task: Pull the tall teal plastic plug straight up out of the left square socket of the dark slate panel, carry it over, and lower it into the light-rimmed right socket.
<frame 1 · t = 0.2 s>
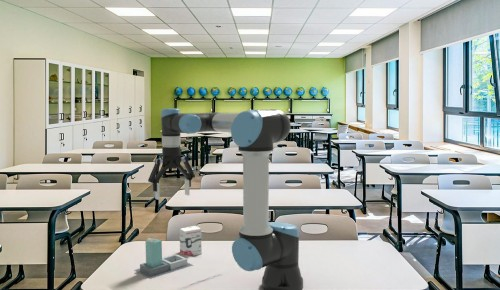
hand: (172, 196, 192), 28 cm above the table, fingers open, 13 cm apart
plug: (154, 270, 182), point 1 cm above the table, touching panel
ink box: (190, 254, 204), on the table
panel: (164, 270, 185), on the table
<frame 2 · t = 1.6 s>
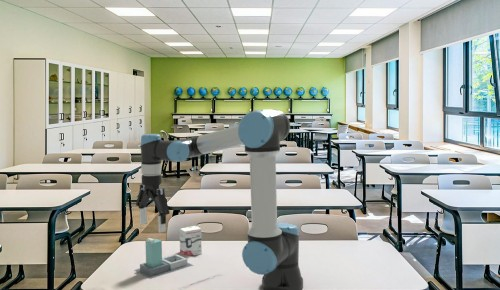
hand: (152, 228, 180), 18 cm above the table, fingers open, 13 cm apart
nothing on the table moved.
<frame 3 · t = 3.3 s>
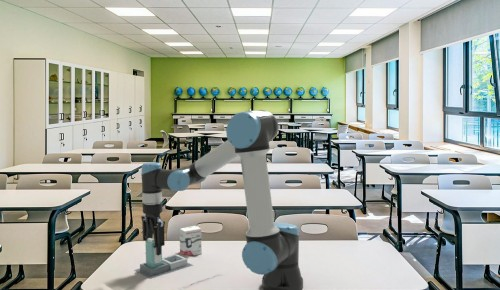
hand: (154, 260, 182), 5 cm above the table, fingers closed on plug, 4 cm apart
plug: (154, 270, 182), point 1 cm above the table, touching gripper, panel
everything else where it was.
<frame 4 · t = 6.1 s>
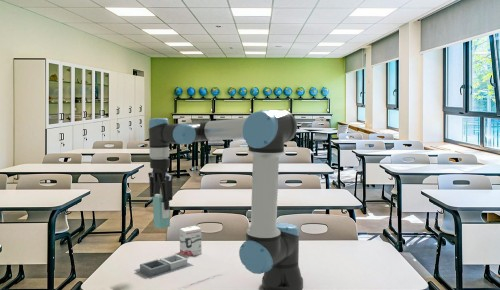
hand: (161, 216, 182), 22 cm above the table, fingers closed on plug, 4 cm apart
plug: (161, 226, 183), point 18 cm above the table, touching gripper
everything else where it was.
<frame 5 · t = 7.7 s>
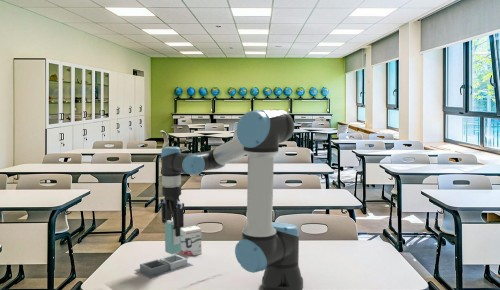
hand: (172, 242, 187), 11 cm above the table, fingers closed on plug, 4 cm apart
plug: (173, 251, 188), point 7 cm above the table, touching gripper
everything else where it was.
when the fingers open (6 cm above the table, at t = 8.9 s): plug stays where it is, resting on panel.
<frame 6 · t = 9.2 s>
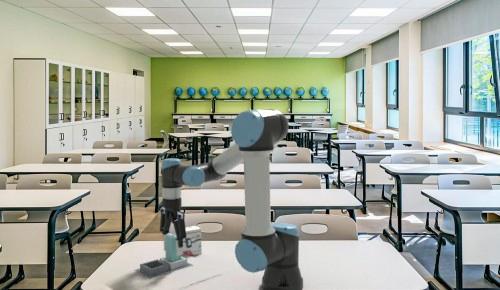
hand: (173, 252, 188), 6 cm above the table, fingers open, 8 cm apart
plug: (173, 264, 188), point 1 cm above the table, touching panel
everything else where it was.
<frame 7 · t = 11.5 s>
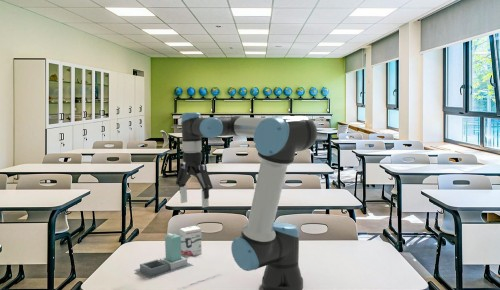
hand: (194, 204, 185), 26 cm above the table, fingers open, 13 cm apart
nothing on the table moved.
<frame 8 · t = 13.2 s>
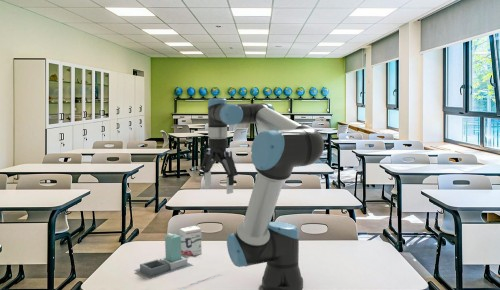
hand: (218, 190, 185), 32 cm above the table, fingers open, 13 cm apart
nothing on the table moved.
at the end: plug 0.1 cm from the target spot on the panel, point 1.2 cm above the panel's base; plug tilted 0°; the gripper is holding nothing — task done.
